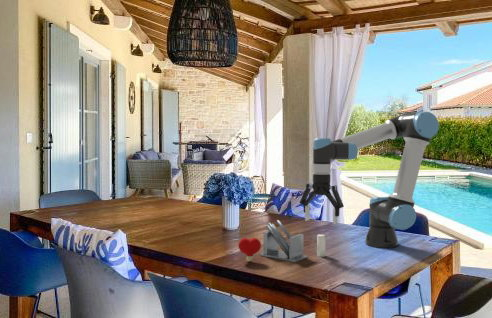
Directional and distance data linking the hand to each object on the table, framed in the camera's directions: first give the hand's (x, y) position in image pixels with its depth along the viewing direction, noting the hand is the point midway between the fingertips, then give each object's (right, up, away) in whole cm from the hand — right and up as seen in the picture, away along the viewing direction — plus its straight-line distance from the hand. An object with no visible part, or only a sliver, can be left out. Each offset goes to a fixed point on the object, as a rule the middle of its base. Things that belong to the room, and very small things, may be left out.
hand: (320, 222), depth 213 cm
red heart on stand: (-31, -16, -10) cm, 36 cm away
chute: (-16, -15, -1) cm, 22 cm away
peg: (0, -15, +1) cm, 15 cm away
